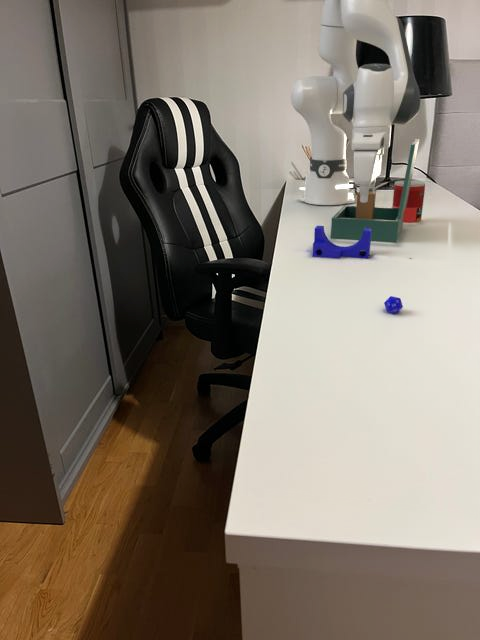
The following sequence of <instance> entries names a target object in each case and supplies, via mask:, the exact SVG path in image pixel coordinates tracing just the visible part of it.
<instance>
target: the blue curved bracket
mask: <svg viewBox="0 0 480 640" xmlns="http://www.w3.org/2000/svg"><path fill="white" fill-rule="evenodd" d="M371 232H372V228H364V230H363V235H362V237H361V239H360V240H357V242H355V243H353V244H351V245H347V246H341V245H337V244H335V243H334V242H332V241H331V240H330V239H329V238H328V237H327V234H326V232H325V226H324V225H316V226H315V227H314V233H313V234H314V235H313V237H314V239H313V242H312V257H313V258H324V259H325V258H326V259H341V258H354V259H355V258H356V259H369V258H370V254H371V253H370V252H371V242H372V241H371ZM362 251H364V252H365V253H361V252H362Z"/></svg>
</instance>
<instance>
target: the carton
mask: <svg viewBox="0 0 480 640" xmlns="http://www.w3.org/2000/svg"><path fill="white" fill-rule="evenodd" d="M357 192H358V193H357V194H356V204H355V206H356V219H372V220H374V210H375V207H376V196H377V191H375V190H374V191H369V193H368V194H369V197H368V201H367V202H366V203H362V202H360V190H359V191H357Z"/></svg>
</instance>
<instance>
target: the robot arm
mask: <svg viewBox="0 0 480 640" xmlns="http://www.w3.org/2000/svg"><path fill="white" fill-rule="evenodd" d="M321 12H322V13H321V20H320V29H319V37H318V47H317V51H318V55H319V57H320V59H322V60H323V61H324V62H326V64H329V65H330V66H332V75H325V76H324V75H321V76H319V75H318V76H308V77H304V78H301V79H298V80H297V81H296V82H295V83H294V85H293V87H292V89H291V92H290V102H291V105H292V107H293V109H294V110H295V111H296V113H298V114H299V115H300V116H301V117H302V118H303V119H304V121H306V122H305V123H306V124H307V126H308V128H309V129H308V130H309V132H310V136H311V137H310V138H311V158H310V160H309V161H310V162H309V171H310V172H309V174H307V175H306V176H305V179H304V187H299V190H301V191H302V190H303V191H304V194H303V196H301V197H299V202H303V203H306V204H310V205H314V206H315V205H317V206H339V205H345V204H354V203H355V196H354V194H356V195H357V193H358V192H359V191H360V202H362V203H366V202H367V201H368V197H369V194H368V193H369V191H375V190H378V189H379V188H381V187H384V186H385V185H388V184H387V183H388V182H389V184H393V183H395V182H396V181H402V180H405V178H399V179H394V180H389V181H386V182H383V183H381V184H378V185H377V186H375V185H376V181H377V180H376V179H377V178H378V177H379V176H380V175H381V171H382V159H383V158H382V156H383V155H384V154H385V153H384V151H385V149H387V148H390V146H391V135H392V125H398V126H399V125H400V126H405V125H407V124H408V123H410V121H412V120H413V119H414V118H415V117H416V116H417V115H418V114H419V112H420V107H421V93H420V87H419V85H418V83H417V79H416V77H415V73H414V69H413V64H412V60H411V55H410V49H409V46H408V45H409V44H408V41H407V37H406V33H405V29H404V24H403V22H402V20H401V18H399V17H398V16H397V15H395V14H394V12H393V11H392V10H391V8H390V6H389V4H388V0H324V2H323V6H322V11H321ZM357 41H360V42H363V43H367V44H369V45H372V46H374V47H376V48H378V49H381V50H382V51H383V52H385V54H386V55H387V56H388V57H387V58H388V61H389V64H388V63H367V64H363V65H361V66H360V67H359V65H358V63H357V62H358V61H357V56H356V55H357ZM336 114H339V115H340V114H341V115H342V116H343V117H344V118H345V120H346V121H347V122H348V123H350V124H352V130H351V131H352V134H351V147H350V148H351V149H350V150H351V151H353V180H350V177H349V175H348V174H347V171H346V170H347V164H348V162H347V158H346V152H347V150H346V149H347V135H346V133H345V131H344V129H342V128H341V127H339V126H338V125H335V124H334V123H333V122H332V121H333V120H332V116H331V115H336ZM357 186H359V191H358V187H357ZM352 190H354V193H352Z"/></svg>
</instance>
